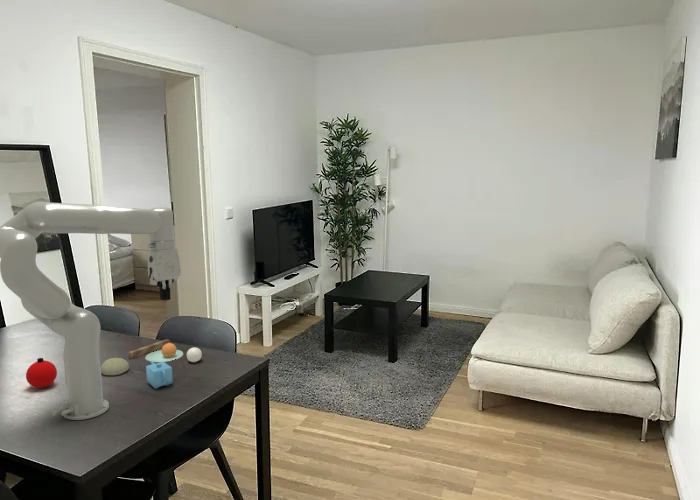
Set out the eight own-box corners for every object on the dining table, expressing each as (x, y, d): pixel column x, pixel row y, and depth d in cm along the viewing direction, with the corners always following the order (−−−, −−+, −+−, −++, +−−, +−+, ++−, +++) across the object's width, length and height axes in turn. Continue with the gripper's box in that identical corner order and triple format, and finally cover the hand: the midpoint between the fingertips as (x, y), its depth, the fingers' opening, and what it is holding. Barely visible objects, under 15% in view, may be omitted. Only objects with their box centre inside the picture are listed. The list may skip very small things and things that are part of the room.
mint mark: (161, 364, 197) (161, 364, 197) (137, 357, 204) (137, 357, 204) (190, 353, 209) (190, 353, 209) (166, 347, 216) (166, 346, 216)
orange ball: (160, 342, 202) (156, 353, 205) (169, 351, 200) (165, 362, 202) (172, 338, 207) (168, 348, 209) (181, 347, 205) (177, 357, 207)
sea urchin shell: (120, 373, 185) (105, 356, 185) (107, 386, 187) (92, 370, 187) (136, 363, 194) (121, 347, 194) (123, 376, 196) (108, 361, 196)
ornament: (63, 384, 179) (61, 356, 177) (36, 394, 171) (33, 365, 170) (48, 379, 184) (45, 351, 182) (21, 388, 176) (18, 360, 174)
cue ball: (188, 343, 199) (182, 355, 200) (193, 353, 196) (187, 364, 197) (200, 344, 203) (194, 356, 204) (206, 354, 199) (200, 365, 201)
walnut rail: (132, 359, 203) (131, 353, 202) (128, 358, 204) (128, 352, 203) (169, 345, 218) (169, 339, 218) (166, 344, 219) (166, 339, 219)
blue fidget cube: (143, 380, 183) (142, 360, 182) (160, 376, 187) (159, 356, 186) (156, 392, 174) (155, 370, 173) (174, 387, 178) (173, 365, 177)
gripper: (151, 249, 166) (154, 306, 169) (188, 243, 179) (190, 296, 182) (135, 247, 170) (139, 302, 173) (172, 241, 183) (175, 293, 185)
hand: (165, 299), depth 177 cm, fingers closed
